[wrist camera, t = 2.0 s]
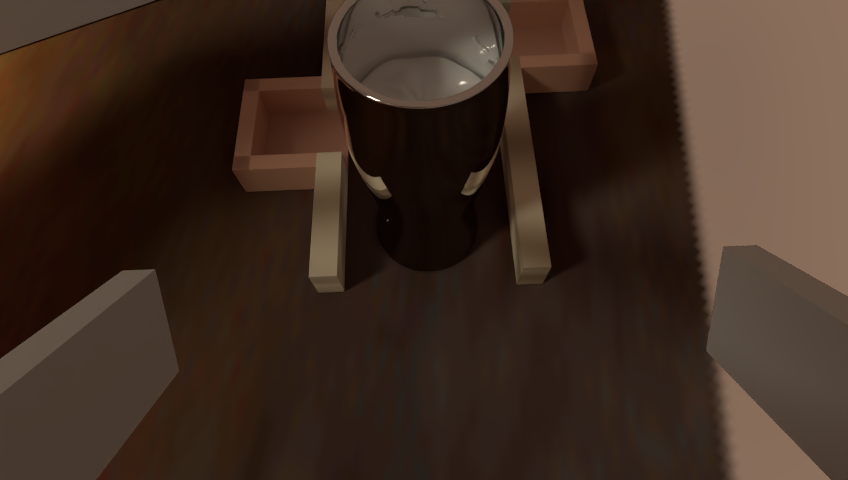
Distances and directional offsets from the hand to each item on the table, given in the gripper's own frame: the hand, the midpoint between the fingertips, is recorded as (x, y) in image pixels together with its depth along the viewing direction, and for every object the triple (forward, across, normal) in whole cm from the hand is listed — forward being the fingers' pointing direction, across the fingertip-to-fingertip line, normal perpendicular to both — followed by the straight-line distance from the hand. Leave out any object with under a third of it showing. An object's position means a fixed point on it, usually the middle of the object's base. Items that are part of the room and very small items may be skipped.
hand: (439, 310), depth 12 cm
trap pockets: (+26, 0, +3) cm, 26 cm away
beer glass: (+19, 0, -4) cm, 20 cm away
